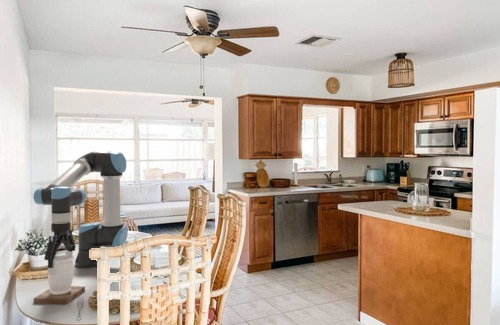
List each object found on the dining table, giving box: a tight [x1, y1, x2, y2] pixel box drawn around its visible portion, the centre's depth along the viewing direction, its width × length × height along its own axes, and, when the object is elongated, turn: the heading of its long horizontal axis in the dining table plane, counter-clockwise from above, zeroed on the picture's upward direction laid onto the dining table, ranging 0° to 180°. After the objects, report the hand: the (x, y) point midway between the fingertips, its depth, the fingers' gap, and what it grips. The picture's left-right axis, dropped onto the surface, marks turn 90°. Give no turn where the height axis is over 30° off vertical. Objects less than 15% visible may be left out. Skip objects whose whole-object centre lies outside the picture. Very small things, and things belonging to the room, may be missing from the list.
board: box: [33, 285, 86, 305], centre depth 166 cm, size 16×14×2 cm
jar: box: [47, 254, 75, 295], centre depth 166 cm, size 11×10×15 cm
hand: (60, 270), depth 166 cm, fingers open, 13 cm apart
